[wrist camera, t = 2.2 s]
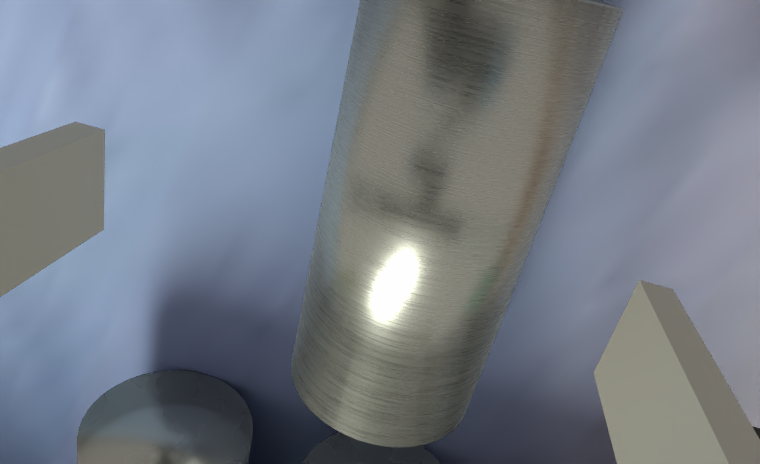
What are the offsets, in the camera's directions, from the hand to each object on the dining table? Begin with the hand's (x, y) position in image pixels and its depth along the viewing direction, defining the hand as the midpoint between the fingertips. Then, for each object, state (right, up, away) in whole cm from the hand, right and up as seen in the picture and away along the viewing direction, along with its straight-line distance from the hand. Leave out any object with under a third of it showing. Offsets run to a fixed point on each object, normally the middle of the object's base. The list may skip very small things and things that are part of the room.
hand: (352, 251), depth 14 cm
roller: (+1, +3, +4) cm, 5 cm away
